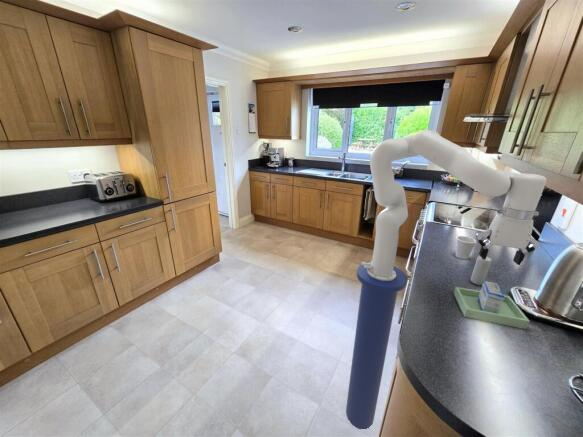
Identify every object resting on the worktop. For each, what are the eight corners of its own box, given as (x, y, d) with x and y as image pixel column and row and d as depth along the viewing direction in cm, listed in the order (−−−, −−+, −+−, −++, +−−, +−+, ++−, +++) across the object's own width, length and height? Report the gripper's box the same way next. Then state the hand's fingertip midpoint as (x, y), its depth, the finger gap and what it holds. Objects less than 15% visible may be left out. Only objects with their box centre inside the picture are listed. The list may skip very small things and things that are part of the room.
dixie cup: (453, 258, 125) (458, 240, 121) (451, 251, 132) (455, 234, 128) (472, 262, 121) (478, 244, 118) (469, 254, 128) (474, 237, 125)
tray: (464, 316, 85) (466, 309, 84) (453, 293, 97) (455, 286, 96) (526, 329, 80) (529, 321, 78) (506, 303, 92) (509, 296, 91)
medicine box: (477, 299, 92) (483, 280, 89) (491, 303, 90) (498, 283, 88) (481, 312, 86) (488, 292, 83) (497, 316, 84) (505, 296, 81)
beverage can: (468, 278, 107) (475, 254, 103) (481, 280, 106) (489, 256, 102) (472, 284, 103) (480, 259, 99) (485, 286, 101) (494, 261, 97)
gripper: (543, 213, 77) (524, 259, 83) (480, 206, 83) (466, 251, 89) (559, 220, 71) (536, 271, 77) (489, 213, 76) (473, 260, 82)
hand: (499, 260), depth 83 cm, fingers open, 9 cm apart
